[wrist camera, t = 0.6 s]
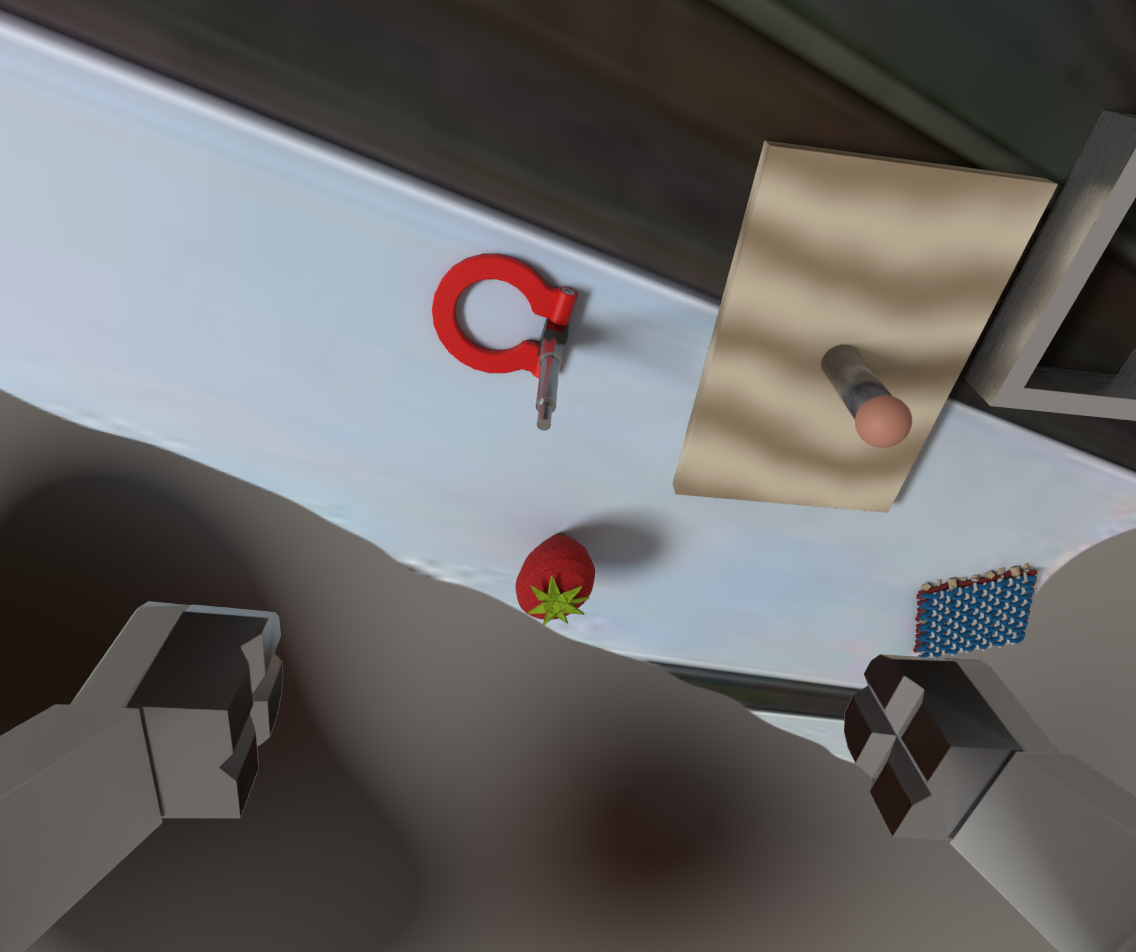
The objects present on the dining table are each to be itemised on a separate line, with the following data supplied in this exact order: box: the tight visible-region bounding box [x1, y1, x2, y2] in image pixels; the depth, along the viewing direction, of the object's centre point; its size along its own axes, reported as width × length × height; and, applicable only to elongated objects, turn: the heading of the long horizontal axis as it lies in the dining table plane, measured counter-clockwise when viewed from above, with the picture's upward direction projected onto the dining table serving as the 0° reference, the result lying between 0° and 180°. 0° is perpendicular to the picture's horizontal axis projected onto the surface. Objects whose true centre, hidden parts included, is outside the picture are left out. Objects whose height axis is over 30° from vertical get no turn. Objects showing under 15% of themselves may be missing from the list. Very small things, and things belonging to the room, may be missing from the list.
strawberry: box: [516, 534, 595, 626], centre depth 56 cm, size 6×8×10 cm
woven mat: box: [913, 563, 1037, 658], centre depth 66 cm, size 10×11×2 cm
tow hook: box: [432, 254, 578, 430], centre depth 43 cm, size 8×13×9 cm
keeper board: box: [673, 141, 1058, 513], centre depth 46 cm, size 26×18×11 cm
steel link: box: [963, 110, 1136, 421], centre depth 45 cm, size 18×13×4 cm
